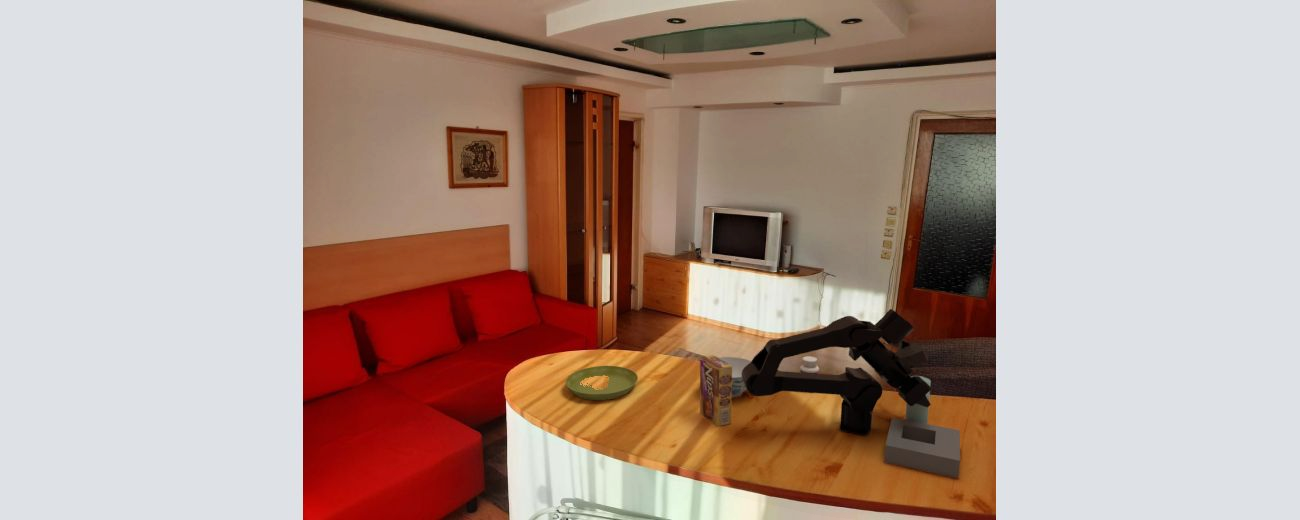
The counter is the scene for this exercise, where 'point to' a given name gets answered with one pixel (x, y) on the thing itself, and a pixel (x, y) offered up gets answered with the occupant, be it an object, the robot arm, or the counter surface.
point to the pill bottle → (809, 365)
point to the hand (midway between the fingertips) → (923, 401)
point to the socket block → (923, 447)
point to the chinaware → (737, 374)
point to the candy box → (715, 390)
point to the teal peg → (918, 409)
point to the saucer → (617, 386)
